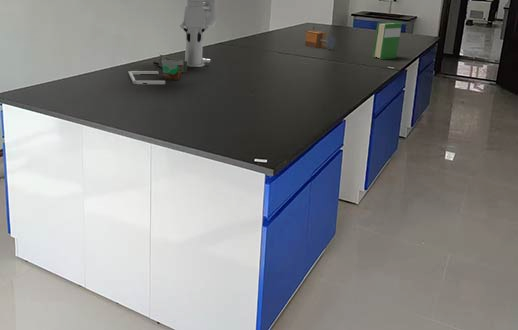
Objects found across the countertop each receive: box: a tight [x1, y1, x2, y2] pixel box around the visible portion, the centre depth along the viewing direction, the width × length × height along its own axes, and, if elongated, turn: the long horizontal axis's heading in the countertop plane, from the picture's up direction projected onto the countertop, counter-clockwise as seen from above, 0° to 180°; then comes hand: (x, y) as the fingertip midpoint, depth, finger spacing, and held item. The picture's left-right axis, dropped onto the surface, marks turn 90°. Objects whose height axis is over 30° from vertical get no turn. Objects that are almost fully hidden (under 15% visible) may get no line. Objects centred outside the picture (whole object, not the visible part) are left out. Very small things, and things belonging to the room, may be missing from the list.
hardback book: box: [371, 21, 403, 60], centre depth 395 cm, size 18×7×24 cm, turn 130°
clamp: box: [304, 26, 336, 50], centre depth 417 cm, size 11×20×14 cm, turn 46°
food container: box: [161, 57, 183, 81], centre depth 286 cm, size 12×6×10 cm, turn 62°
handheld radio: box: [152, 54, 188, 74], centre depth 311 cm, size 7×3×25 cm
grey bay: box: [128, 70, 166, 85], centre depth 284 cm, size 15×22×2 cm
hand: (193, 41), depth 285 cm, fingers open, 4 cm apart
